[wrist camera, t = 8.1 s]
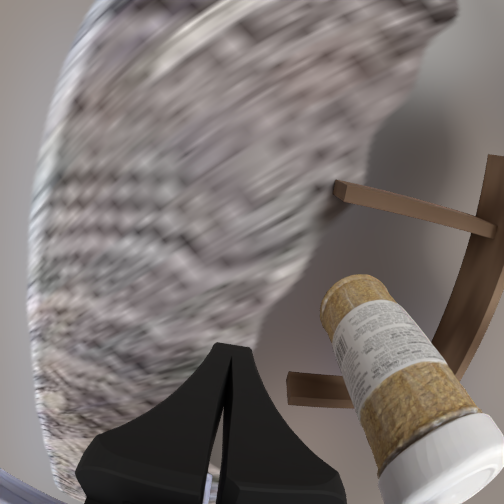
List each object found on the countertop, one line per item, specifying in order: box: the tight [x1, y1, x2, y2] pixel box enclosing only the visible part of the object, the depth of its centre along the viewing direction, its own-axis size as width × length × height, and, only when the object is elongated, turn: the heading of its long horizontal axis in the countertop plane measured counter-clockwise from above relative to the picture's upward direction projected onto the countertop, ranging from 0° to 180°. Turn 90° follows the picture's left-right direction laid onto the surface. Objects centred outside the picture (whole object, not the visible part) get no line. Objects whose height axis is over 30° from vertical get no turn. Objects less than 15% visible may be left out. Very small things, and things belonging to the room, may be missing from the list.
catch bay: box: [286, 155, 504, 408], centre depth 17 cm, size 22×11×4 cm, turn 171°
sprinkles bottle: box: [320, 274, 504, 504], centre depth 12 cm, size 5×5×13 cm
